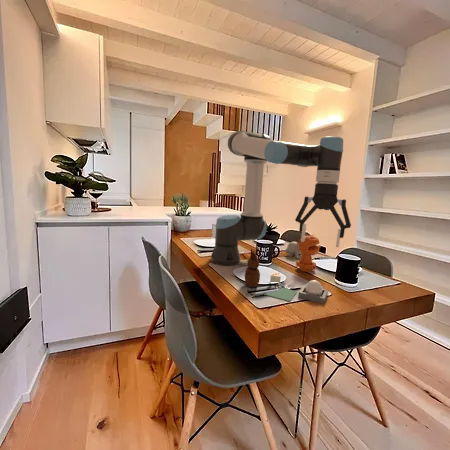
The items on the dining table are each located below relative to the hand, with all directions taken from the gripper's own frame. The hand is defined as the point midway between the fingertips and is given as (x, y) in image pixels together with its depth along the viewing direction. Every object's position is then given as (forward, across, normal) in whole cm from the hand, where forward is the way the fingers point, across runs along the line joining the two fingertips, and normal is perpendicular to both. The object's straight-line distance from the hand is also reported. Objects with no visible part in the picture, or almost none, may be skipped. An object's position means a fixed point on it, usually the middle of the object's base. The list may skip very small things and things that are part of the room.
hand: (319, 243), depth 96 cm
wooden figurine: (+20, -23, -5) cm, 31 cm away
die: (+20, -16, +3) cm, 26 cm away
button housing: (+20, 0, 0) cm, 20 cm away
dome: (+20, 0, 0) cm, 20 cm away
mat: (+20, -11, -5) cm, 24 cm away
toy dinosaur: (+20, -9, +30) cm, 37 cm away
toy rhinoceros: (+20, -19, +49) cm, 57 cm away
